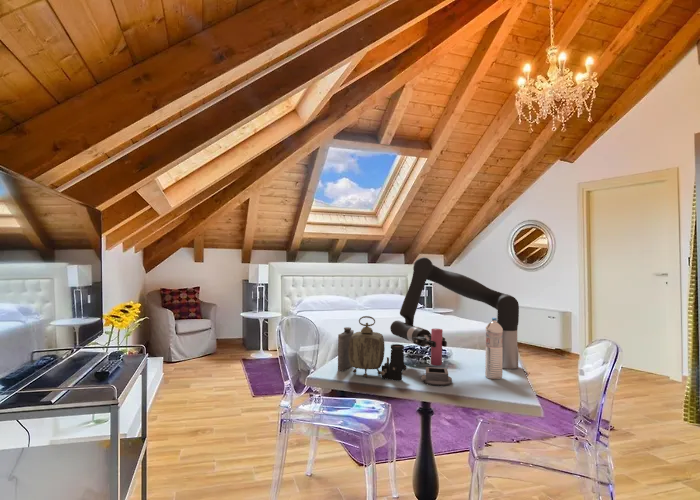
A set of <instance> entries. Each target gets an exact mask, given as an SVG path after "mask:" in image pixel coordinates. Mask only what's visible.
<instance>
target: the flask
mask: <svg viewBox="0 0 700 500" xmlns="http://www.w3.org/2000/svg"><path fill="white" fill-rule="evenodd" d="M343 330H344V331H343V332H341V333H339V334H337V335H338V336H337V372H341V373H342V372H345V371H348V370H349V369H351V368H353V367H352V366H351V365H350V362H349V352H348V350H349V341H350V338H351V336H352V335H353V334H354V333H355V332H354V330H353V329H352V327H350V326H348V327H347V326H345V327H343Z"/></svg>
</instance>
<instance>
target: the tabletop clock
mask: <svg viewBox="0 0 700 500" xmlns="http://www.w3.org/2000/svg"><path fill="white" fill-rule="evenodd" d="M364 318H365V319H366V318H367V319H371V320H373V323H371V324H369V323H368V322H366V323H365V324H364V323H362V322H361V320H362V319H364ZM358 323H359V325H360V326H362V328H361V329H360V331H357V332H354V334H353V335H352V336H351V338H350V341H349V350H348V352H349V362H350V365H351V366H352V367H351V368H354V369H352V372H353V374H356V373H357V369H359V370H364V373H363V377H364V378H368V373H367V370H376V371H377V375H378V376H379V375H381V374H380V372H381V371H382V370H380V368H382V365H383V362H384V359H385V358H384V357H385V339H384V335H383V334H382V333H379V332H376V331H373V329H372V328H371V327H373V326H374V325H375V324H376V319H375V318H374V317H372V316H369V315H365V316H360V318H359V320H358Z"/></svg>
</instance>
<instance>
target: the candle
mask: <svg viewBox="0 0 700 500" xmlns="http://www.w3.org/2000/svg"><path fill="white" fill-rule="evenodd" d="M443 332H444V331H443V329H441V328H431V331H430V333H431V340H432V341H435V342H436V347H431V346H430V365H432V366H436V367H437V366H442V365H443V346H442V337H443Z"/></svg>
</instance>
